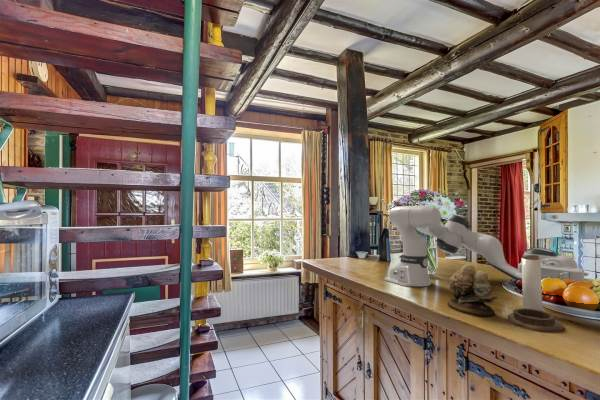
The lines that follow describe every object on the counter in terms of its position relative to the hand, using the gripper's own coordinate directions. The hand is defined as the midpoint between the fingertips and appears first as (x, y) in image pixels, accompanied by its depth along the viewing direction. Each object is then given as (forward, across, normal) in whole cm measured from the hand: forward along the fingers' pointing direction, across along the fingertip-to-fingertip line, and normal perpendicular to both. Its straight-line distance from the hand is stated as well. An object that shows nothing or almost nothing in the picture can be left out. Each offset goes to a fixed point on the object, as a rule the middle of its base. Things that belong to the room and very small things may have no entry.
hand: (543, 273), depth 115 cm
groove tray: (+24, -4, -12) cm, 27 cm away
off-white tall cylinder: (+12, 0, -12) cm, 17 cm away
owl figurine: (+26, +14, -12) cm, 32 cm away
